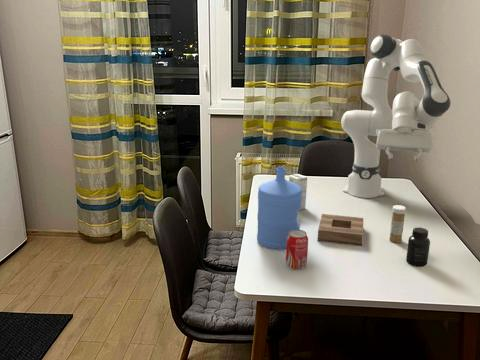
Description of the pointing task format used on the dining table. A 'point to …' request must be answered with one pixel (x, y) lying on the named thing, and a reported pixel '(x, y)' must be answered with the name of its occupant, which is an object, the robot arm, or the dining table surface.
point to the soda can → (296, 249)
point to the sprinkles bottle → (397, 223)
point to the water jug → (277, 211)
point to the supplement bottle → (418, 248)
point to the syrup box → (301, 182)
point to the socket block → (341, 229)
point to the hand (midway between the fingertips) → (403, 159)
